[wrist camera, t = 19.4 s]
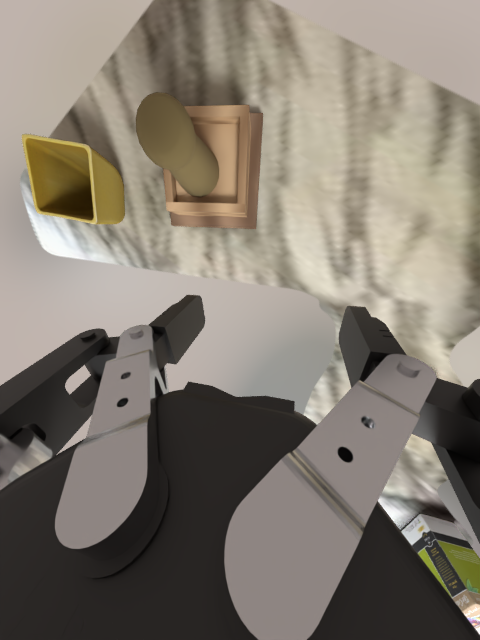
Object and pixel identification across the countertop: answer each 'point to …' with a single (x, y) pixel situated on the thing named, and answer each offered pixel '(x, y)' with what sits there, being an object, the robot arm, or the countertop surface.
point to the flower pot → (73, 181)
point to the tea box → (449, 561)
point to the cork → (176, 144)
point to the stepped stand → (222, 170)
